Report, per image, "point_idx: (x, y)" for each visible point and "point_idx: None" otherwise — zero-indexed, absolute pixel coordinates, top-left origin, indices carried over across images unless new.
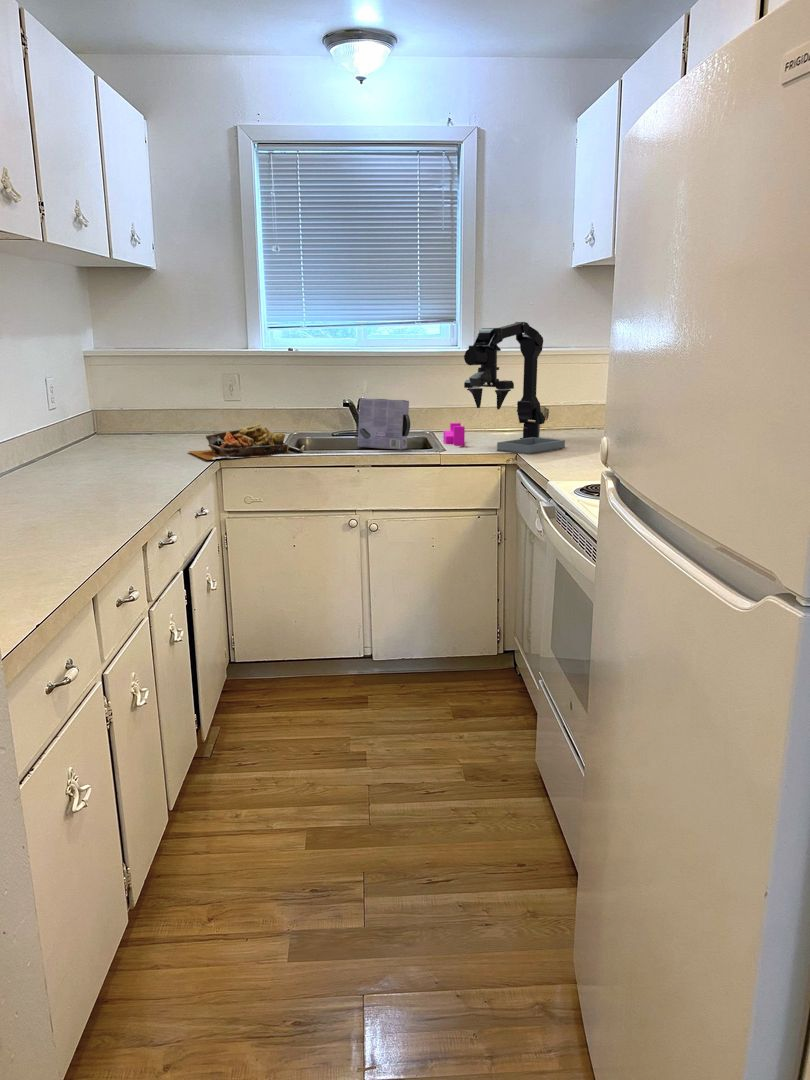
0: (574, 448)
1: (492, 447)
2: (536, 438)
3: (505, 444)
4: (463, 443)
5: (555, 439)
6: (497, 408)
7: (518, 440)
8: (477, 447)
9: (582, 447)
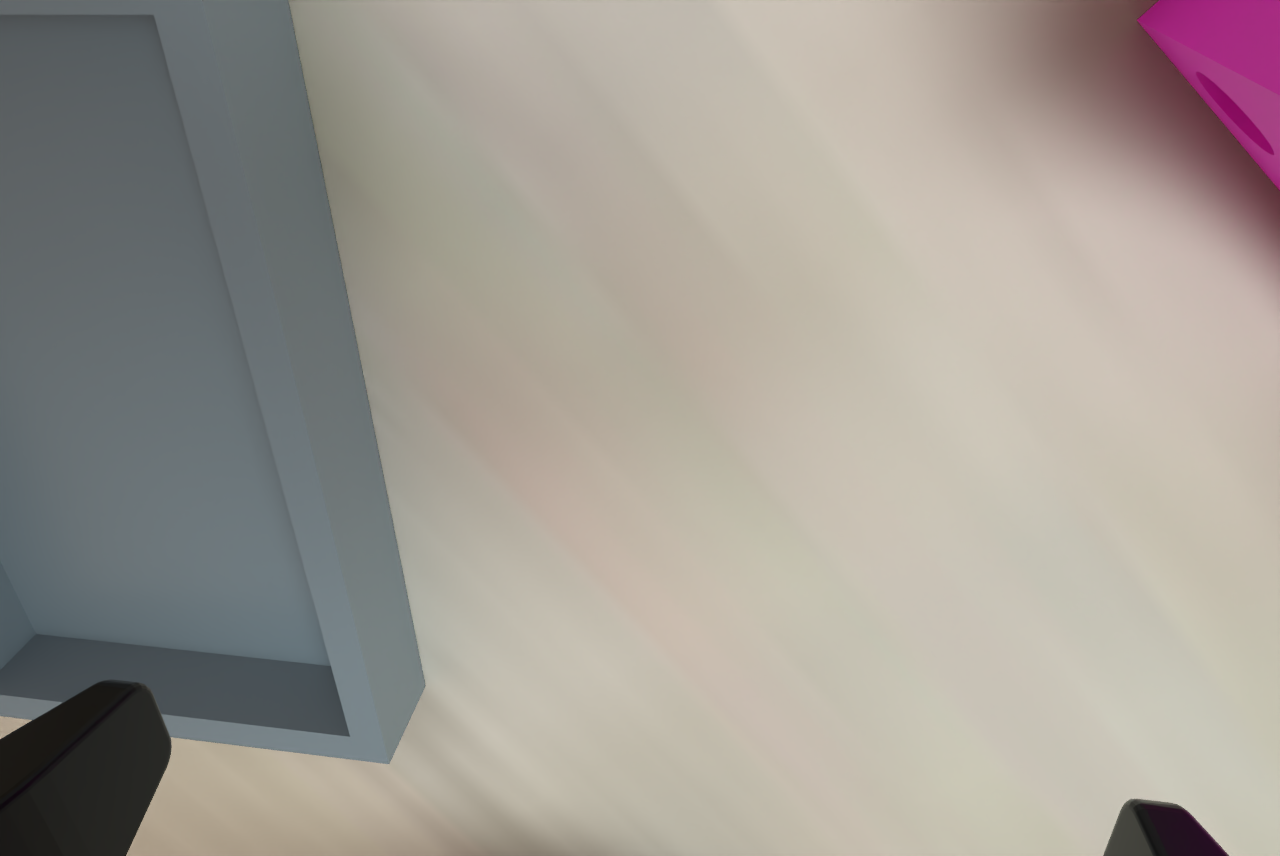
0: None
1: (645, 263)
2: (307, 726)
3: None
4: (1175, 14)
5: None
6: (96, 695)
7: (286, 471)
8: (843, 95)
9: None
